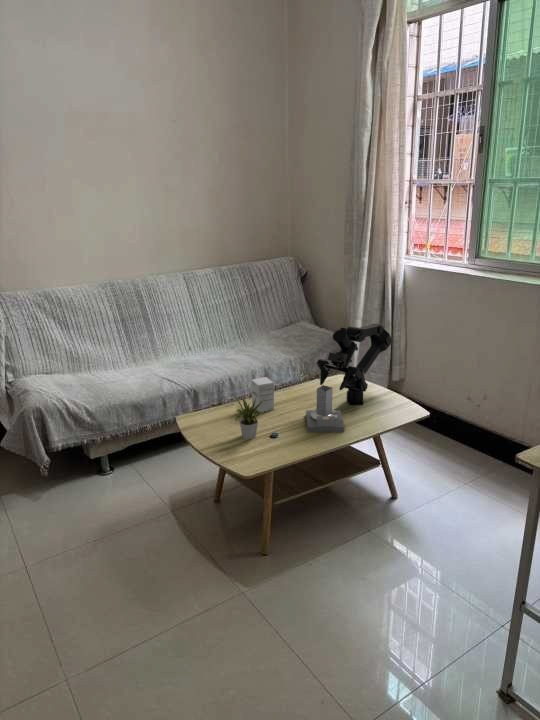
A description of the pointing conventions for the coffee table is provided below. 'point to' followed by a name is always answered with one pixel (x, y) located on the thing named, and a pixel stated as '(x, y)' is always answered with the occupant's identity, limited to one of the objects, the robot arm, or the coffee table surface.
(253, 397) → the supplement box
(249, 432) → the house plant
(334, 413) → the scale pan
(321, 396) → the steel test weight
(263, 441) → the coffee table surface
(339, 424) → the scale base
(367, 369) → the robot arm
